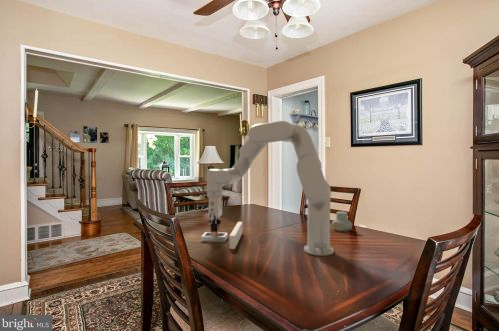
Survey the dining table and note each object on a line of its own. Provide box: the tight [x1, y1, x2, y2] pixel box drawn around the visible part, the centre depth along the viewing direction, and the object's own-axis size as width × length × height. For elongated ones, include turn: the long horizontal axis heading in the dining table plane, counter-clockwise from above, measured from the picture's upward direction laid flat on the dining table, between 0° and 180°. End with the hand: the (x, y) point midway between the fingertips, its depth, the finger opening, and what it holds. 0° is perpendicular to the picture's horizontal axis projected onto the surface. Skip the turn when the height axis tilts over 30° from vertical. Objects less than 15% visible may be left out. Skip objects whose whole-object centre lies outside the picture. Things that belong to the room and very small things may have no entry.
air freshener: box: [331, 211, 353, 232], centre depth 153 cm, size 11×8×10 cm
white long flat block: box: [229, 221, 243, 250], centre depth 135 cm, size 26×2×6 cm, turn 174°
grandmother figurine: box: [207, 216, 223, 236], centre depth 136 cm, size 8×4×13 cm, turn 83°
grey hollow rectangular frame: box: [200, 231, 229, 243], centre depth 136 cm, size 8×12×2 cm, turn 84°
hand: (215, 230), depth 136 cm, fingers closed on grandmother figurine, 3 cm apart
